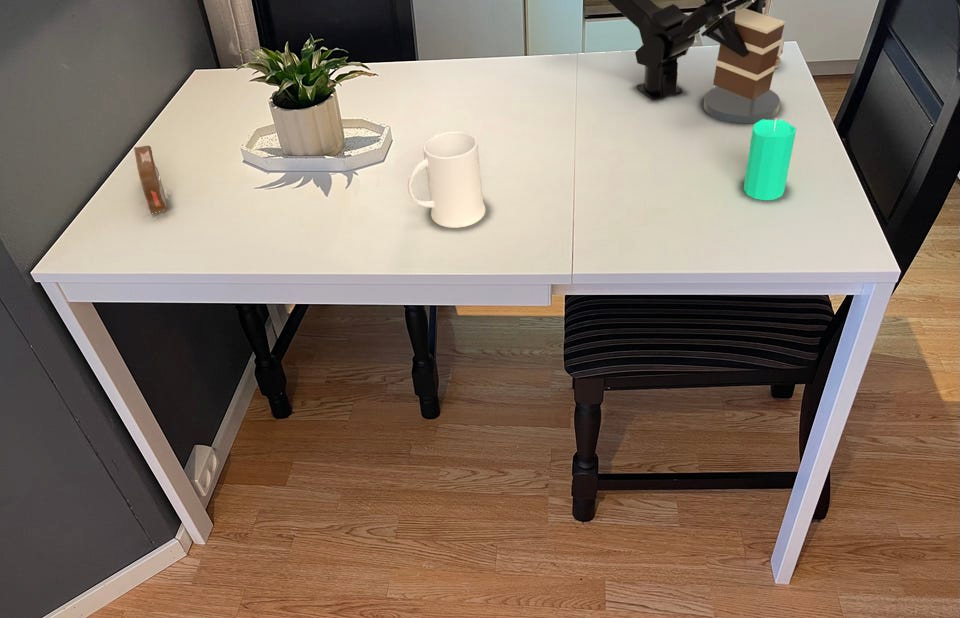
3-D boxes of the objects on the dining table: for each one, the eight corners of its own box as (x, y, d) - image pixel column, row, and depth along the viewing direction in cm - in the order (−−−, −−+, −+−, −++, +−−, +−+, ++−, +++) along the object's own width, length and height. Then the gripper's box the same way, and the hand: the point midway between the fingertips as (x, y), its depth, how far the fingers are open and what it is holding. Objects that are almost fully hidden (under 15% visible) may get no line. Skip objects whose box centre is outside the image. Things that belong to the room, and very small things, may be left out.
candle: (786, 201, 118) (800, 128, 111) (744, 199, 120) (755, 127, 112) (782, 180, 123) (796, 109, 115) (742, 178, 124) (753, 108, 116)
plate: (689, 100, 146) (690, 93, 145) (749, 85, 149) (750, 77, 148) (730, 130, 136) (731, 122, 135) (794, 112, 139) (795, 104, 138)
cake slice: (712, 84, 137) (724, 16, 129) (730, 75, 139) (742, 7, 131) (752, 100, 132) (767, 30, 124) (769, 90, 135) (785, 21, 126)
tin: (146, 182, 139) (128, 139, 134) (164, 177, 140) (147, 135, 135) (153, 224, 128) (135, 179, 123) (173, 218, 129) (155, 174, 124)
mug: (422, 240, 118) (410, 170, 111) (404, 212, 125) (392, 144, 117) (494, 218, 121) (488, 149, 114) (473, 192, 127) (466, 125, 120)
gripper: (705, -47, 118) (758, 43, 119) (776, -78, 127) (825, 6, 127) (659, -5, 128) (708, 78, 129) (728, -36, 137) (774, 42, 137)
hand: (755, 50), depth 130 cm, fingers closed on cake slice, 5 cm apart
